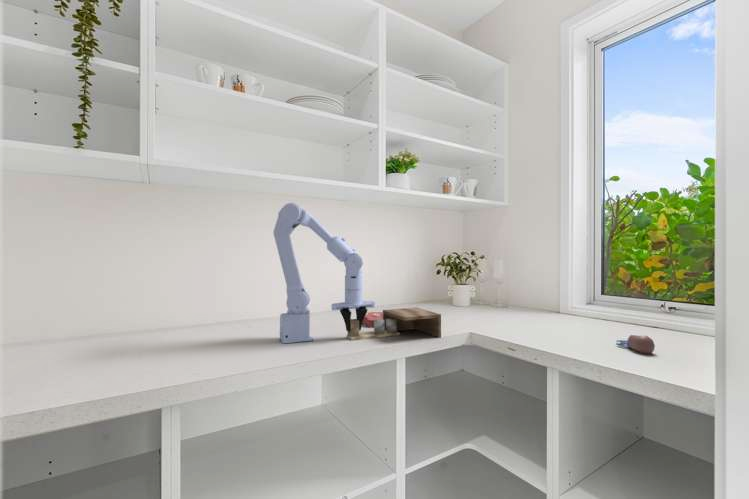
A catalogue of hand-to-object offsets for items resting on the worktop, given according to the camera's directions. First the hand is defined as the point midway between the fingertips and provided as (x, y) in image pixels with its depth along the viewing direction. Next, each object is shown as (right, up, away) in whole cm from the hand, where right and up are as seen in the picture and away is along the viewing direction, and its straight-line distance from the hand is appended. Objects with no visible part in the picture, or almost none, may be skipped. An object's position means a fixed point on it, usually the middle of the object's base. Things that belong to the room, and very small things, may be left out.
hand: (353, 330), depth 112 cm
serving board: (+7, -3, +3) cm, 8 cm away
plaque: (+9, -4, +25) cm, 27 cm away
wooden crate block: (+20, -3, +5) cm, 20 cm away
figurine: (+82, -3, -13) cm, 84 cm away
